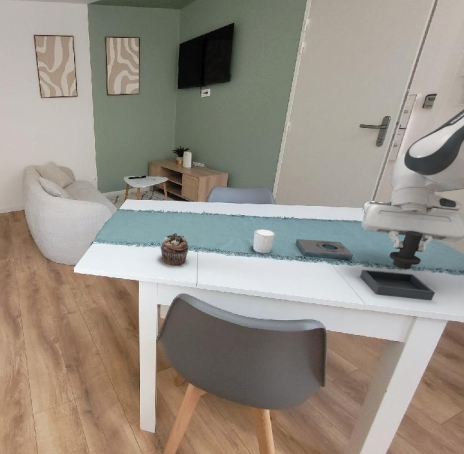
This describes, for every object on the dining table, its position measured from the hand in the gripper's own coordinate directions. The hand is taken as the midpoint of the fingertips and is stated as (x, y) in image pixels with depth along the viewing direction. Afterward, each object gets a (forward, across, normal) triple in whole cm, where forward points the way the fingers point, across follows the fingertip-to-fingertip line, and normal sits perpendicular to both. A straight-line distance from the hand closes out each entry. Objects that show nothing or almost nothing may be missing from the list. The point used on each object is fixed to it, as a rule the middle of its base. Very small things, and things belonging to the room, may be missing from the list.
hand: (409, 249), depth 78 cm
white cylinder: (+2, -34, +17) cm, 38 cm away
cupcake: (+16, -61, +2) cm, 63 cm away
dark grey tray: (+8, 0, +9) cm, 13 cm away
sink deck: (-4, -16, +22) cm, 27 cm away
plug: (+3, 0, +4) cm, 5 cm away
